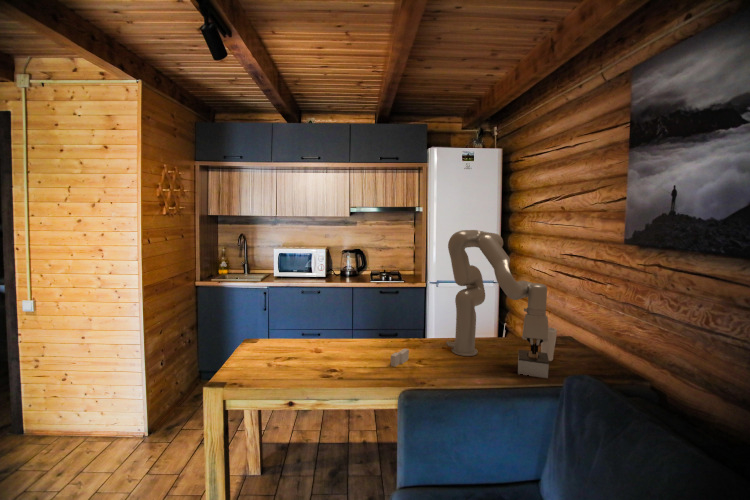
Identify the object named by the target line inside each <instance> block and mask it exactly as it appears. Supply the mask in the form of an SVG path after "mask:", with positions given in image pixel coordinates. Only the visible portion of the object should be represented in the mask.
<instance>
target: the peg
mask: <svg viewBox="0 0 750 500" xmlns="http://www.w3.org/2000/svg"><path fill="white" fill-rule="evenodd" d="M529 351H530V352H529V354H528V357H532V358H538V353H537V352H536V354H532V351H531V350H529Z"/></svg>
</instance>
